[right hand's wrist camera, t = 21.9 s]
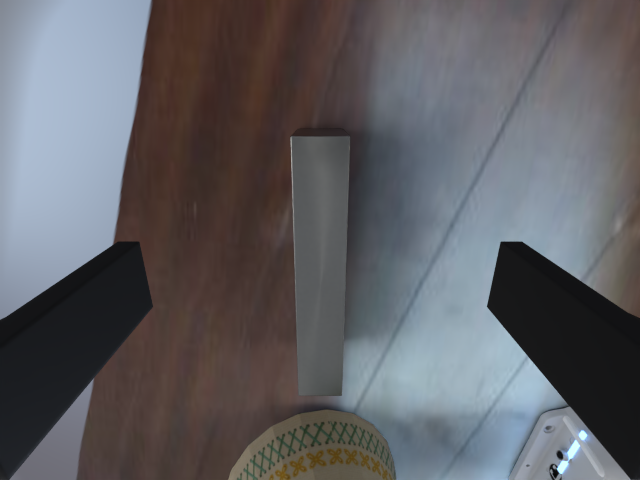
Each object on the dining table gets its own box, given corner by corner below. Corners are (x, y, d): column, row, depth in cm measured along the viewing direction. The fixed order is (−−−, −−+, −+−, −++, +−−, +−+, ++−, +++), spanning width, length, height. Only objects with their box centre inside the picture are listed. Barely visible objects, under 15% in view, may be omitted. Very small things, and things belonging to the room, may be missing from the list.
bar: (297, 128, 35) (290, 136, 26) (343, 128, 35) (350, 136, 26) (302, 341, 44) (298, 395, 36) (338, 341, 44) (342, 395, 36)
